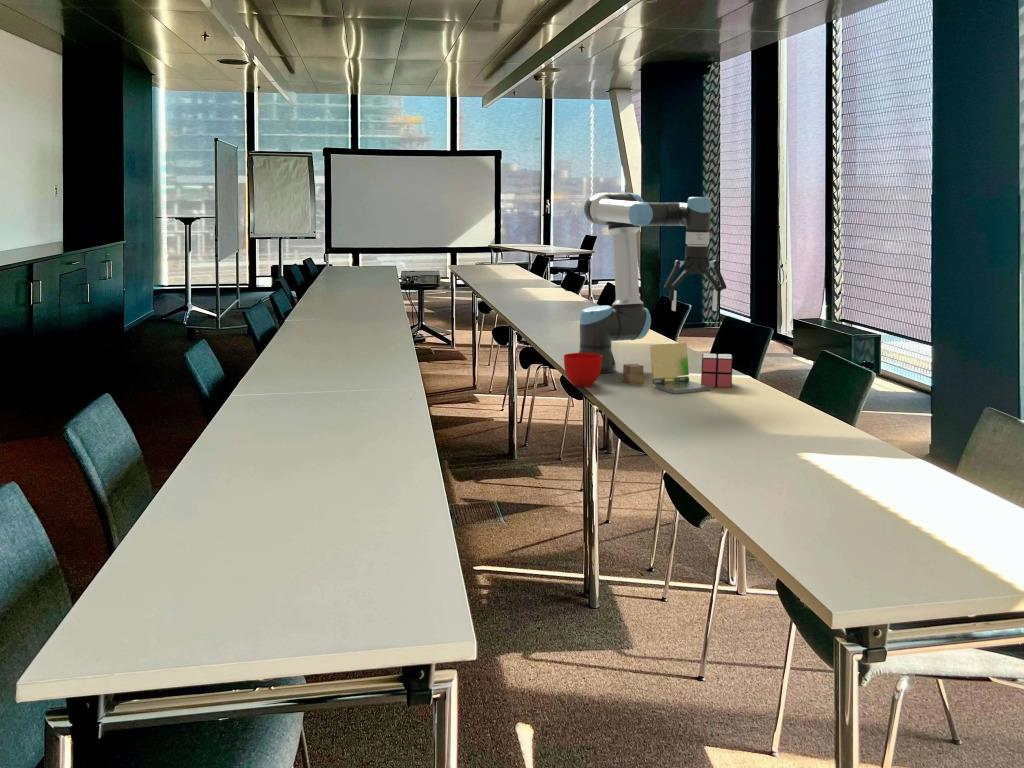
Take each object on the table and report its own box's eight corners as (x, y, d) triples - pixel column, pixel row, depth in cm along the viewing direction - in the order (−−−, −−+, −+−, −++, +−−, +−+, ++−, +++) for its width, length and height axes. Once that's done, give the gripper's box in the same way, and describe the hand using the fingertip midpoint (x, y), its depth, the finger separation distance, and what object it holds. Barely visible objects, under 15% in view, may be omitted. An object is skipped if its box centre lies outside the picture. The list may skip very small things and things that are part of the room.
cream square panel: (689, 381, 326) (686, 381, 327) (687, 342, 325) (684, 342, 327) (655, 384, 320) (652, 384, 321) (652, 345, 319) (649, 345, 321)
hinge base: (686, 383, 328) (686, 375, 327) (709, 390, 316) (710, 382, 315) (651, 386, 322) (651, 378, 321) (674, 393, 310) (674, 385, 310)
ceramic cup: (608, 380, 333) (609, 352, 331) (596, 389, 317) (597, 359, 315) (572, 378, 337) (572, 350, 335) (558, 387, 321) (559, 357, 319)
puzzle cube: (731, 388, 320) (732, 358, 318) (700, 387, 322) (702, 357, 320) (730, 383, 330) (732, 354, 328) (701, 381, 332) (702, 353, 330)
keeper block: (622, 381, 332) (623, 364, 330) (635, 380, 334) (635, 363, 333) (630, 384, 327) (631, 366, 326) (643, 383, 329) (643, 365, 328)
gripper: (661, 245, 307) (659, 311, 311) (738, 246, 309) (734, 312, 313) (656, 244, 314) (654, 309, 318) (731, 244, 316) (728, 309, 320)
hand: (694, 310), depth 316 cm, fingers open, 13 cm apart
